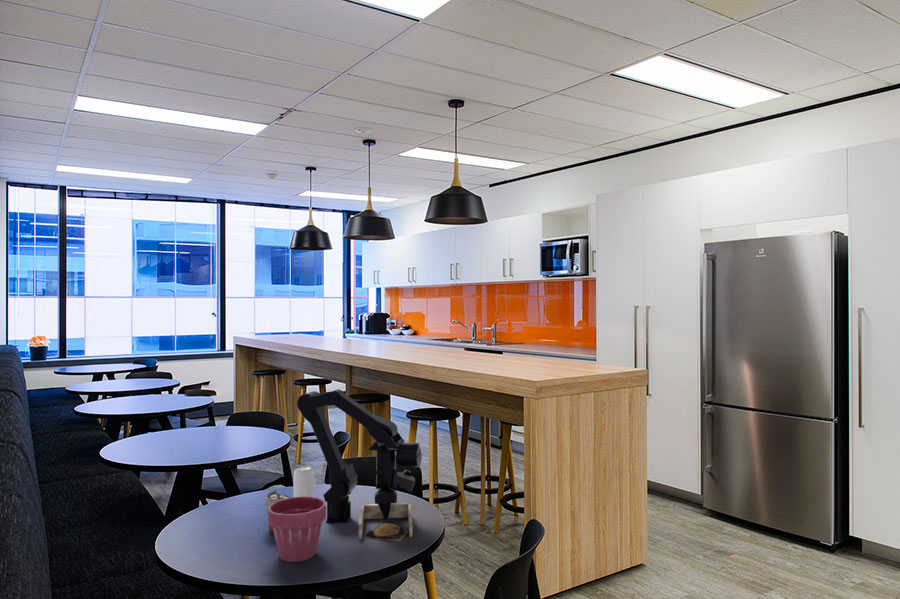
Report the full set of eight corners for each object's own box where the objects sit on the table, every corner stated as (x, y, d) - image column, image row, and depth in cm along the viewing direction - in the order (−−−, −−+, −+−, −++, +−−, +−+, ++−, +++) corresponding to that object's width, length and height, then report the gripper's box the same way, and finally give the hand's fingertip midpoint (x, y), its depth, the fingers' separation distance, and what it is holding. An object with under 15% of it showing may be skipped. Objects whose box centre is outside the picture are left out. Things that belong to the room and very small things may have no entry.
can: (311, 508, 192) (311, 470, 192) (291, 508, 192) (291, 470, 192) (316, 502, 198) (316, 465, 199) (296, 502, 199) (296, 465, 199)
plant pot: (277, 571, 146) (277, 517, 146) (261, 551, 158) (261, 502, 158) (334, 558, 154) (334, 507, 154) (315, 540, 166) (314, 493, 166)
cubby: (358, 539, 166) (358, 524, 166) (361, 518, 183) (361, 504, 183) (412, 537, 168) (412, 522, 168) (410, 516, 184) (410, 503, 184)
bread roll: (410, 533, 172) (410, 520, 172) (398, 544, 164) (398, 530, 164) (376, 529, 175) (376, 516, 175) (362, 539, 167) (362, 526, 167)
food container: (256, 529, 174) (255, 494, 174) (275, 523, 179) (275, 489, 179) (279, 540, 166) (279, 503, 166) (299, 533, 171) (299, 497, 171)
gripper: (414, 472, 171) (414, 529, 171) (412, 456, 190) (412, 507, 190) (374, 474, 170) (374, 530, 170) (376, 458, 189) (376, 508, 188)
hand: (386, 518), depth 179 cm, fingers closed
